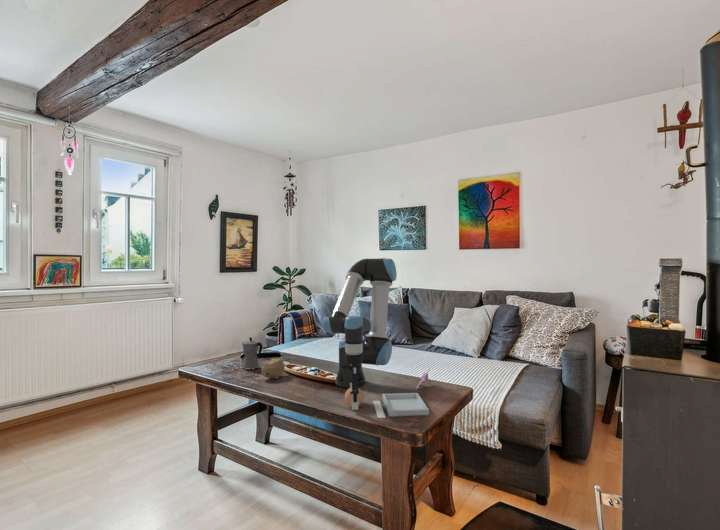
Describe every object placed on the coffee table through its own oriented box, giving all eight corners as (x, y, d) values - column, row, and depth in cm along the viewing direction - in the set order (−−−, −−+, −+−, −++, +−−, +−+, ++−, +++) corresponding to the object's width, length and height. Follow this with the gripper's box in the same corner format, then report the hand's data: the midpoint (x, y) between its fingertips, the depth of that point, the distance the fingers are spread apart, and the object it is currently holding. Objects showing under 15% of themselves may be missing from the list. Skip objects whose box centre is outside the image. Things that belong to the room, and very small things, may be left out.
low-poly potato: (282, 373, 209) (263, 364, 208) (290, 358, 206) (271, 348, 205) (275, 389, 194) (255, 379, 193) (284, 373, 191) (263, 363, 190)
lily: (426, 384, 190) (416, 368, 190) (445, 379, 183) (435, 362, 183) (416, 398, 180) (406, 381, 180) (436, 393, 173) (425, 375, 173)
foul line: (372, 401, 163) (372, 400, 163) (379, 401, 163) (379, 400, 163) (377, 418, 145) (377, 417, 145) (385, 418, 145) (385, 417, 145)
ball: (344, 403, 161) (344, 384, 161) (362, 402, 162) (362, 384, 162) (345, 410, 153) (344, 391, 153) (364, 409, 154) (364, 390, 154)
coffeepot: (236, 368, 217) (236, 337, 217) (248, 364, 226) (248, 335, 226) (256, 372, 210) (256, 340, 210) (267, 368, 219) (267, 337, 219)
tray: (382, 398, 166) (382, 393, 166) (417, 397, 167) (417, 392, 167) (389, 416, 146) (388, 411, 146) (429, 415, 147) (429, 409, 147)
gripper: (344, 346, 170) (344, 393, 169) (346, 360, 145) (346, 415, 144) (360, 346, 170) (360, 393, 170) (365, 359, 145) (365, 414, 145)
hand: (354, 403), depth 157 cm, fingers open, 13 cm apart
